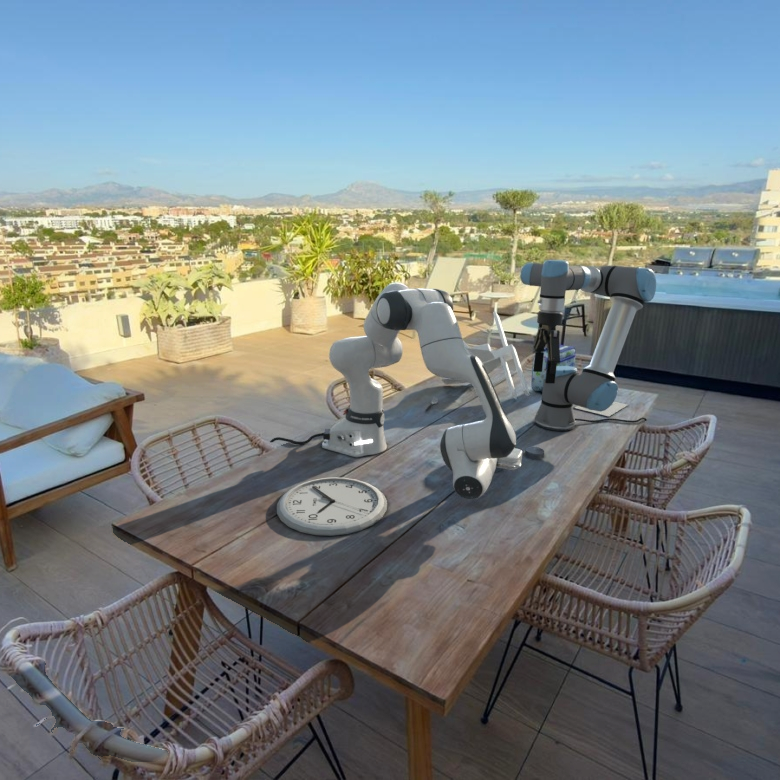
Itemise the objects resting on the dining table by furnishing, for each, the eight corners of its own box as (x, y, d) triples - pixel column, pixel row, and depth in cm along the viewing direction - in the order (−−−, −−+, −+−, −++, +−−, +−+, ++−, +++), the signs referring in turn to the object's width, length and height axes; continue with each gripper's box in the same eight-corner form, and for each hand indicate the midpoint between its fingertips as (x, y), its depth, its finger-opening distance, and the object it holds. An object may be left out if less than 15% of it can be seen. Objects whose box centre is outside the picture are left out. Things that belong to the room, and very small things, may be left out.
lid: (546, 459, 174) (547, 453, 173) (527, 459, 173) (528, 454, 173) (540, 451, 180) (541, 446, 179) (522, 451, 179) (523, 446, 179)
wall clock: (392, 527, 129) (268, 531, 127) (391, 533, 130) (269, 537, 127) (383, 473, 158) (282, 475, 155) (383, 478, 158) (282, 480, 156)
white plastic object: (461, 429, 252) (437, 405, 227) (444, 352, 274) (420, 323, 250) (535, 404, 240) (518, 377, 215) (510, 326, 262) (492, 293, 237)
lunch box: (547, 397, 237) (552, 352, 231) (526, 391, 245) (531, 348, 238) (574, 386, 255) (580, 344, 249) (554, 381, 262) (559, 340, 256)
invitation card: (608, 416, 214) (573, 407, 224) (608, 416, 214) (573, 408, 224) (628, 404, 229) (594, 396, 238) (628, 405, 229) (594, 397, 238)
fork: (422, 411, 216) (422, 407, 215) (433, 400, 230) (433, 396, 230) (428, 412, 215) (429, 407, 215) (438, 401, 230) (439, 396, 229)
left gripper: (521, 458, 136) (526, 438, 148) (444, 444, 142) (456, 427, 155) (518, 479, 138) (524, 458, 150) (443, 465, 144) (454, 446, 157)
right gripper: (528, 305, 174) (522, 366, 180) (550, 317, 150) (543, 388, 157) (550, 305, 174) (543, 367, 180) (576, 318, 150) (567, 388, 157)
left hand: (489, 442), depth 153 cm, fingers open, 8 cm apart
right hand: (543, 377), depth 168 cm, fingers open, 13 cm apart
